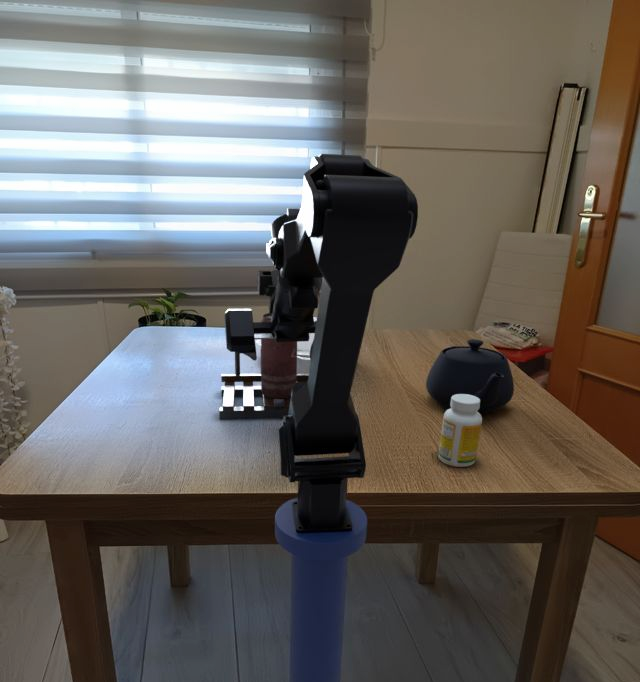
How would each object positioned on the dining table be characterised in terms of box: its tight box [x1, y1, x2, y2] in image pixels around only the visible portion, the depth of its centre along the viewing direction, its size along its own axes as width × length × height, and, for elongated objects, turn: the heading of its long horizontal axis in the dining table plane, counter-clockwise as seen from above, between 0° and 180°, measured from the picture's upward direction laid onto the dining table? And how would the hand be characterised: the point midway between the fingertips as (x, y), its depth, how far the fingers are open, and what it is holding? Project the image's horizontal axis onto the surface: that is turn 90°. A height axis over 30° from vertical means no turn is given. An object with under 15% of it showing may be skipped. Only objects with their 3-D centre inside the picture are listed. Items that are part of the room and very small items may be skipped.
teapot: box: [425, 338, 515, 415], centre depth 103 cm, size 25×16×12 cm, turn 5°
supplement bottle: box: [438, 394, 483, 468], centre depth 82 cm, size 5×5×10 cm
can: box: [260, 312, 297, 401], centre depth 98 cm, size 6×6×14 cm
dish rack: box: [218, 352, 309, 420], centre depth 101 cm, size 14×20×9 cm
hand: (282, 357), depth 93 cm, fingers open, 9 cm apart
